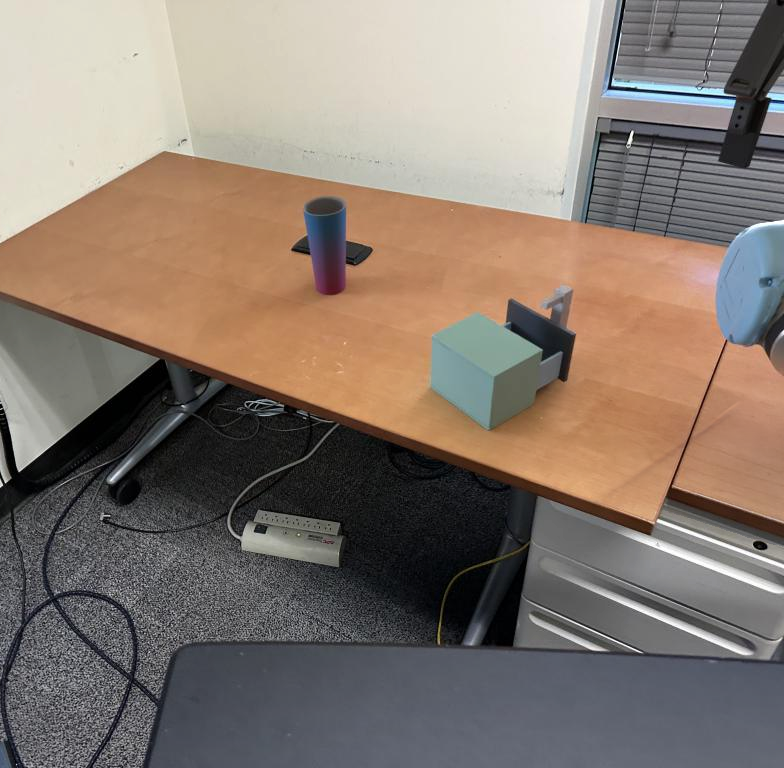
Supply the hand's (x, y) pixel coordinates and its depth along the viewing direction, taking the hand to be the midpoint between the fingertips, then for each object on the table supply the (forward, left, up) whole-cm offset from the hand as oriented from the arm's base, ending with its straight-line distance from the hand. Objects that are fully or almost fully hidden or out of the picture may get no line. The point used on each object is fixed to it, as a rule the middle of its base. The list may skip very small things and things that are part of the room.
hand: (773, 144), depth 70 cm
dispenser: (+1, +28, -31) cm, 41 cm away
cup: (+33, +44, -31) cm, 63 cm away
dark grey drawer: (+5, +20, -30) cm, 37 cm away
